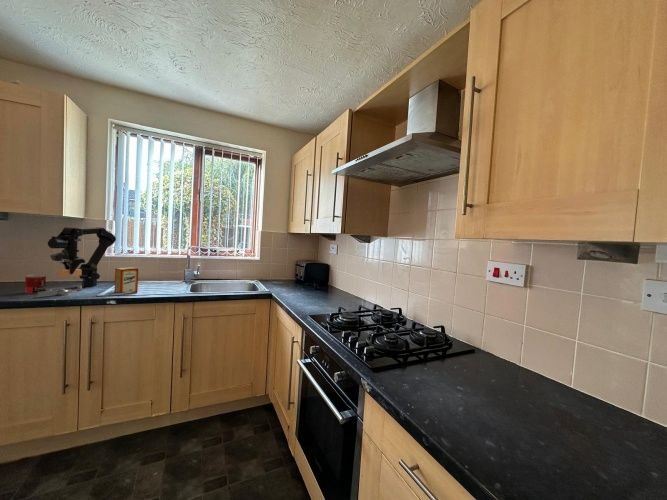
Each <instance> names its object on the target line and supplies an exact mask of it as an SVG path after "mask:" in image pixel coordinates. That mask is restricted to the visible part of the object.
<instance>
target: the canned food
mask: <svg viewBox="0 0 667 500" xmlns="http://www.w3.org/2000/svg"><path fill="white" fill-rule="evenodd" d="M24 279H25V285H24V286H25V287H24V288H25V290H24V291H25V292H24V293H25V294H29V295H32V294H38V292H42V291H47V289H46V286H47V274H42V273H41V274H40V273H38V274H36V273H35V274H26V275H25V278H24Z"/></svg>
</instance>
